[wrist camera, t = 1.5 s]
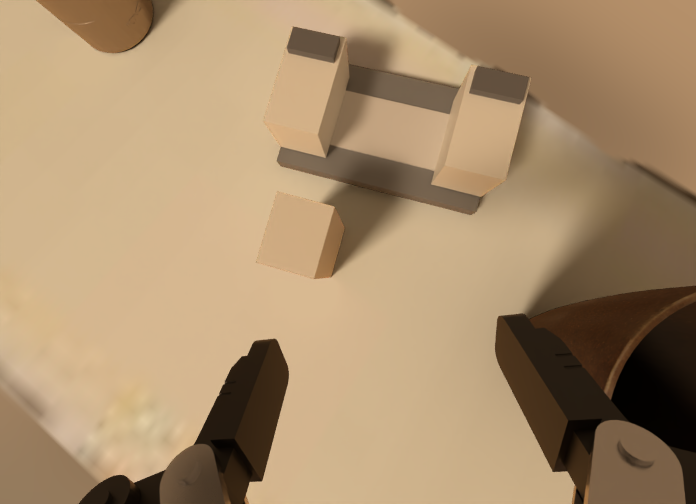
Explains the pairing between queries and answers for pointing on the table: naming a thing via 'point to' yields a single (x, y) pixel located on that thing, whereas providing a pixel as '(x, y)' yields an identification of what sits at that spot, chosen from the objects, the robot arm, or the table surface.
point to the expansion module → (301, 237)
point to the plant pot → (638, 355)
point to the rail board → (393, 125)
